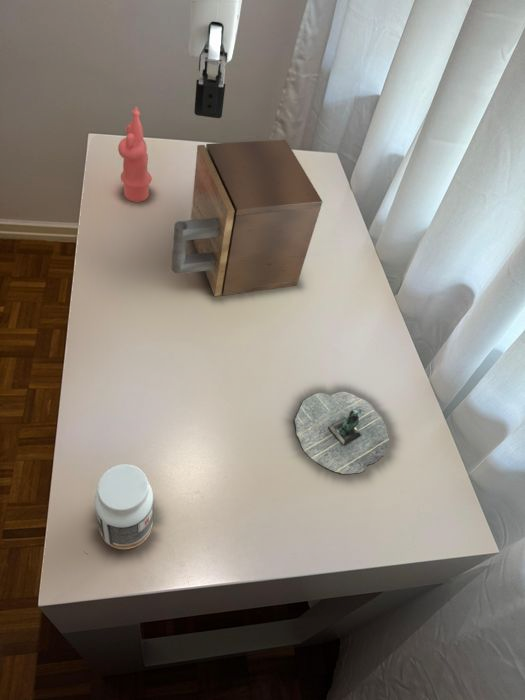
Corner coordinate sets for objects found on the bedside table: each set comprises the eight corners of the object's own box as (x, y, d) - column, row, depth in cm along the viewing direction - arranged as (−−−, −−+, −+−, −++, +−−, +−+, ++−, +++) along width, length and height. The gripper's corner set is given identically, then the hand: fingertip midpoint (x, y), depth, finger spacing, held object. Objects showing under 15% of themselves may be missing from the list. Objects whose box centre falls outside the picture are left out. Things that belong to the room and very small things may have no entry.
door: (174, 302, 82) (180, 215, 70) (152, 235, 89) (154, 147, 77) (221, 295, 84) (234, 210, 72) (195, 231, 92) (204, 144, 79)
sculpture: (395, 414, 77) (405, 423, 69) (365, 475, 77) (372, 490, 69) (314, 375, 78) (315, 379, 70) (285, 435, 78) (282, 446, 70)
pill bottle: (162, 513, 63) (165, 474, 55) (134, 560, 60) (133, 526, 52) (117, 490, 64) (114, 448, 56) (87, 535, 60) (79, 498, 53)
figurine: (120, 182, 96) (117, 98, 84) (151, 185, 97) (153, 101, 85) (119, 202, 93) (116, 117, 81) (151, 204, 94) (152, 120, 82)
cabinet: (222, 295, 84) (236, 209, 72) (197, 232, 92) (206, 143, 79) (297, 285, 88) (322, 201, 76) (267, 224, 96) (285, 139, 83)
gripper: (191, -106, 62) (183, 54, 75) (180, -45, 51) (173, 129, 64) (261, -93, 63) (240, 63, 76) (263, -30, 52) (239, 138, 65)
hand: (209, 93), depth 70 cm, fingers open, 9 cm apart
